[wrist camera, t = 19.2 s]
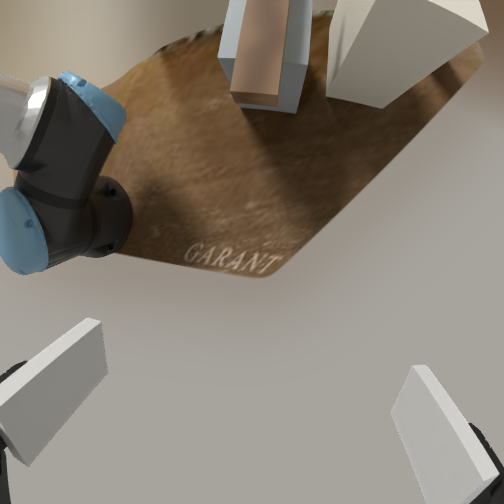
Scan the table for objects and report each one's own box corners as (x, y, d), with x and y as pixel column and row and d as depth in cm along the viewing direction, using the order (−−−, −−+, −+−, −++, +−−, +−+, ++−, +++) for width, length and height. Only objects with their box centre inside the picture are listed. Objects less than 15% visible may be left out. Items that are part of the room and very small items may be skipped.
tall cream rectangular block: (325, 96, 41) (383, -17, 11) (329, 27, 37) (366, -91, 8) (382, 109, 40) (488, 32, 11) (382, 40, 37) (453, -57, 8)
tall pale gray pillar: (240, 107, 42) (217, 57, 24) (249, 47, 40) (234, -19, 21) (295, 113, 42) (307, 65, 23) (302, 52, 39) (313, -14, 21)
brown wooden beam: (210, 101, 25) (201, 90, 21) (241, -41, 20) (238, -58, 17) (304, 110, 24) (307, 99, 21) (315, -36, 20) (317, -52, 16)
